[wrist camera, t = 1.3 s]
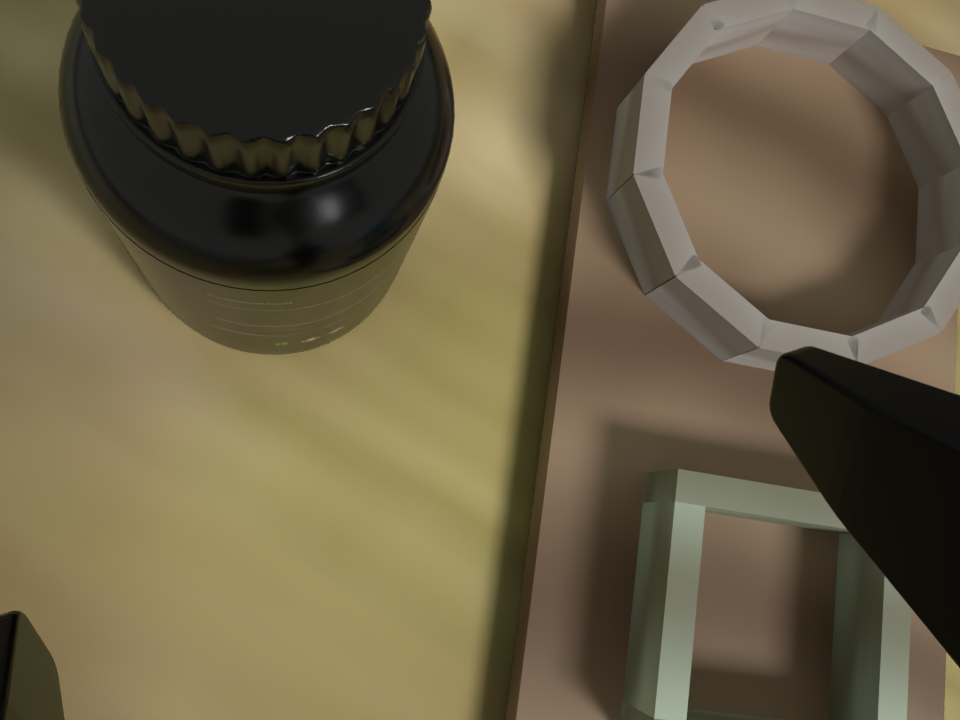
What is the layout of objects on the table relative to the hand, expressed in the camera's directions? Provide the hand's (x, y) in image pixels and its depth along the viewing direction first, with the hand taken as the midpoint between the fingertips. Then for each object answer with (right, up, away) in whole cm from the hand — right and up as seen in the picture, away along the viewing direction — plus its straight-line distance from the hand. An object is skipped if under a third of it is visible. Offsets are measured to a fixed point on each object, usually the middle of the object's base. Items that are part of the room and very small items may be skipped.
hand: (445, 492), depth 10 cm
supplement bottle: (-5, +5, +14) cm, 15 cm away
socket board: (+8, 0, +16) cm, 18 cm away
